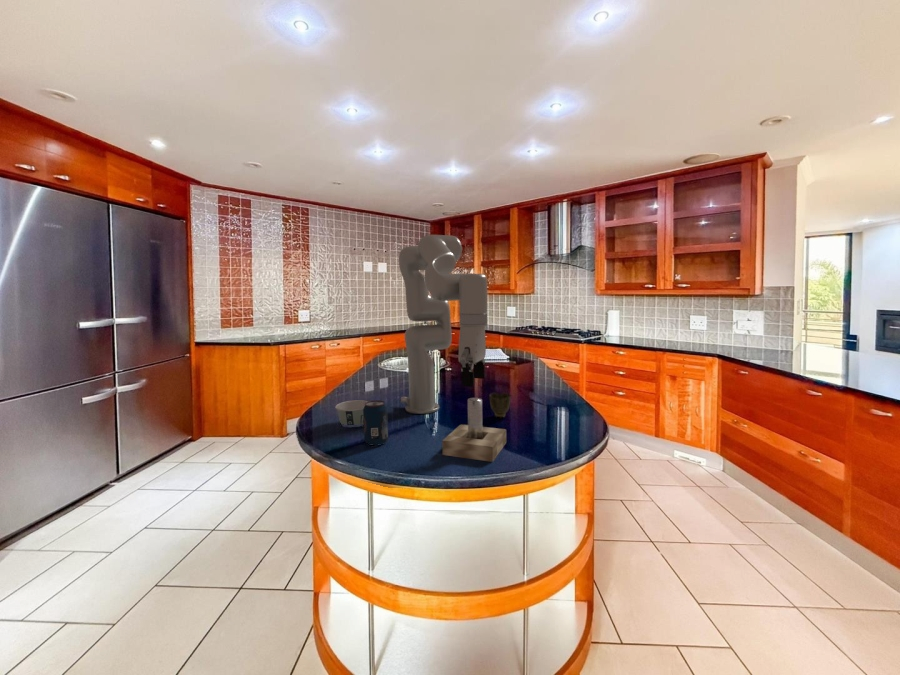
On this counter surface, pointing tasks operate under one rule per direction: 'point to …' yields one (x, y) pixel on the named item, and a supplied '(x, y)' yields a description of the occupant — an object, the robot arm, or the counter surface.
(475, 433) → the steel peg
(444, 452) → the square wooden frame
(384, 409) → the soda can
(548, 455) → the counter surface
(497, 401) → the brown bumpy hollow part
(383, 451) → the counter surface
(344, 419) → the food container
